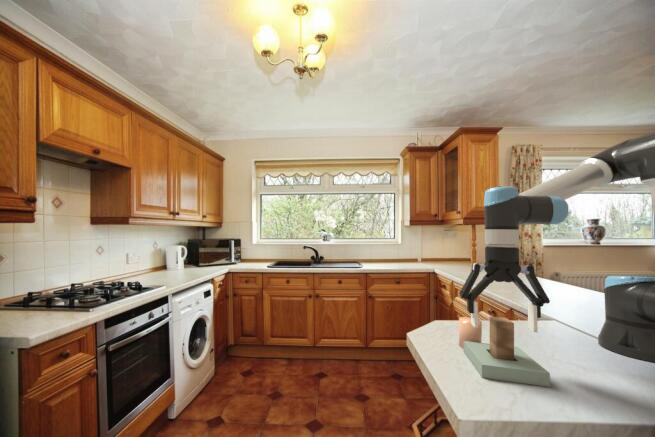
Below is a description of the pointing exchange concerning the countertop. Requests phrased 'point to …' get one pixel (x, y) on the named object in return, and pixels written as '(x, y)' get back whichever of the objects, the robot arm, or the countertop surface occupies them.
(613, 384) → the countertop surface
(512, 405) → the countertop surface
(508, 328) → the square peg
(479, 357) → the bore plate
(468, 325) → the round peg
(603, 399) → the countertop surface
